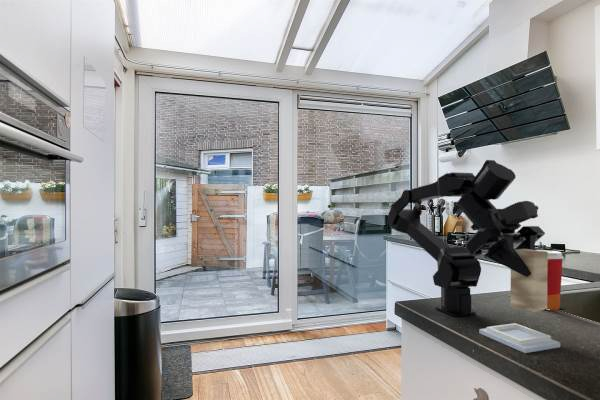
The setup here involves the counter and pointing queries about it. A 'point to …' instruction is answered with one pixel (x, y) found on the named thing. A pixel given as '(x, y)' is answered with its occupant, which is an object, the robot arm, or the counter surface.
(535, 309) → the birch pillar
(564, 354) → the counter surface
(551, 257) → the paper cup
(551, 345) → the board
